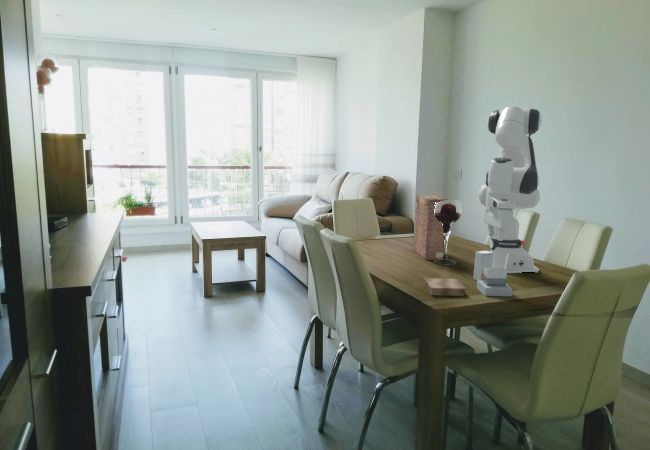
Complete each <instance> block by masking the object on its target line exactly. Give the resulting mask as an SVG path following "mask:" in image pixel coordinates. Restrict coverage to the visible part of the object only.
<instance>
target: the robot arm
mask: <svg viewBox="0 0 650 450" xmlns="http://www.w3.org/2000/svg"><path fill="white" fill-rule="evenodd" d="M541 124H542V115H541V113H540V111H539V109H536V108H521V107H520V106H517V105H516V106H515V105H510V106H506V107H504V109H496V110H493V111H491V112H490V113H489V115H488V117H487V120H486V125H487V129H488V131H489V133H491V134H495V141H496V143H497V144H498V146H499V156H498V157H495V158H492V159H491V161H490V163H489V170H488V171H487V172H486V175H485V176H486V178H485V183H484V184H483V185H482V186H481V187H480V189H479V190H478V194H477V195H478V200H479V202H480V204H481V205H483V206H484V208H485V209H484V215H483V222H484V223H485V224H487V230H488V236H489V237H491V238H490V244H489V245H490V251H489V252H493V262H492V268H504V269H505V270H507V274H523V273H522V272H535V273H539V272H538V271H540V269H539V268H538V267H537V266H535V262H534V258H533V256H532V255H531V254H530V253H529V252H528V251H526V250H525V249H524V248H523V247H522V246H526V244H527V242H526V241H525V240H521V239H519V233H520V232H519V230H520V223H519V221H518V219H517V218H516V217H514V210H515V209H517V210H526V209H533V208H535V207H536V206H537V205H538V204H539V202H540V199H541V193H540V190H539V189H538V187H539V185H540V177H539V173H538V169H537V163H536V162H537V161H536V155H535V149H534V142H533V140H532V138H531V136H532V135H534V134H536V133H537V132H538V131H539V129H540V127H541V126H542V125H541Z"/></svg>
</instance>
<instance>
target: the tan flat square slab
mask: <svg viewBox="0 0 650 450" xmlns="http://www.w3.org/2000/svg"><path fill="white" fill-rule="evenodd" d="M423 280H424V281H425V282H424V283H425V284H424V286H425V288H426V290H427V291H428V292H429V293H430V295H431V296H453V297H455V296H456V297H464V296H465V291H467V288H466V286H464V285H463V283H462V282H460V280H459V279H457V278H435V277H432V278H431V277H430V278H429V277H424V278H423Z"/></svg>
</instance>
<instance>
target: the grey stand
mask: <svg viewBox="0 0 650 450" xmlns="http://www.w3.org/2000/svg"><path fill="white" fill-rule="evenodd" d="M476 289H477V290H479V292H480V293H482V295H484V296H487V297H488V296H489V297H513V287H511V286H510V285H509V284H507V283H506V286H487V285H486V284H484V283H483V281H479V280H476Z"/></svg>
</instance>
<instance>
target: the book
mask: <svg viewBox="0 0 650 450" xmlns="http://www.w3.org/2000/svg"><path fill="white" fill-rule="evenodd" d="M444 200H448V199H447V198H445V197H442V196H440V195H436V194H432V195H428V194H427V195H421V194H416V200H415V201H416V202H415V216H414V217H415V219H414V220H415V221H414V235H413V236H414V237H413V250H414V251H415V252H416V253H417V254H418V255H420V257H422V258H423V259H424V260H426V261H427V260H428V261H439V260H438V259H442V258H443V257H444V258H445V249H444V240H445V241H446V235H445V236H444V235H443V227H442V224H441V223H440V222H439V221H437V220H436V219H437V218H435V216H434V209H435V206H434V205H436V204H435V202H436V203H437V202H440V201H444Z"/></svg>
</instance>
